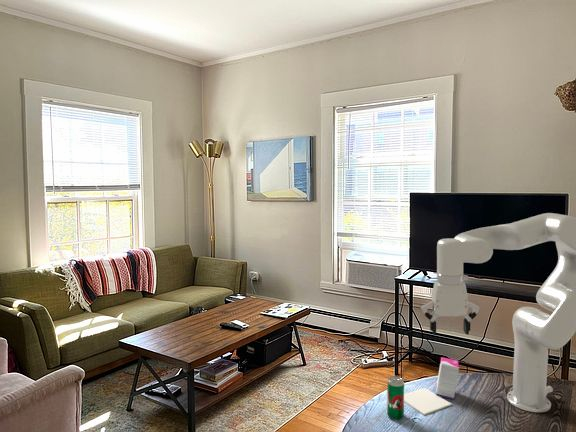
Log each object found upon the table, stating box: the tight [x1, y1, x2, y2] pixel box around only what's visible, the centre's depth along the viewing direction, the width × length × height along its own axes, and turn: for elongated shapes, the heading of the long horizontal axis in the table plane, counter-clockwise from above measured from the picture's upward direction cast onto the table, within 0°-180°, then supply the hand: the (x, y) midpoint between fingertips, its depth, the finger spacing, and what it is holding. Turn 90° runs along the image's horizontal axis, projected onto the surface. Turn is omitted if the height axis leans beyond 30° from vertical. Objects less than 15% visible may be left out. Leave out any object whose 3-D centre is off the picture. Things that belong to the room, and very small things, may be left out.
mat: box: [404, 387, 453, 416], centre depth 146 cm, size 12×12×1 cm
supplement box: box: [435, 356, 460, 400], centre depth 150 cm, size 6×6×12 cm
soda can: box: [386, 375, 405, 421], centre depth 138 cm, size 5×5×12 cm
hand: (449, 332), depth 137 cm, fingers open, 9 cm apart
